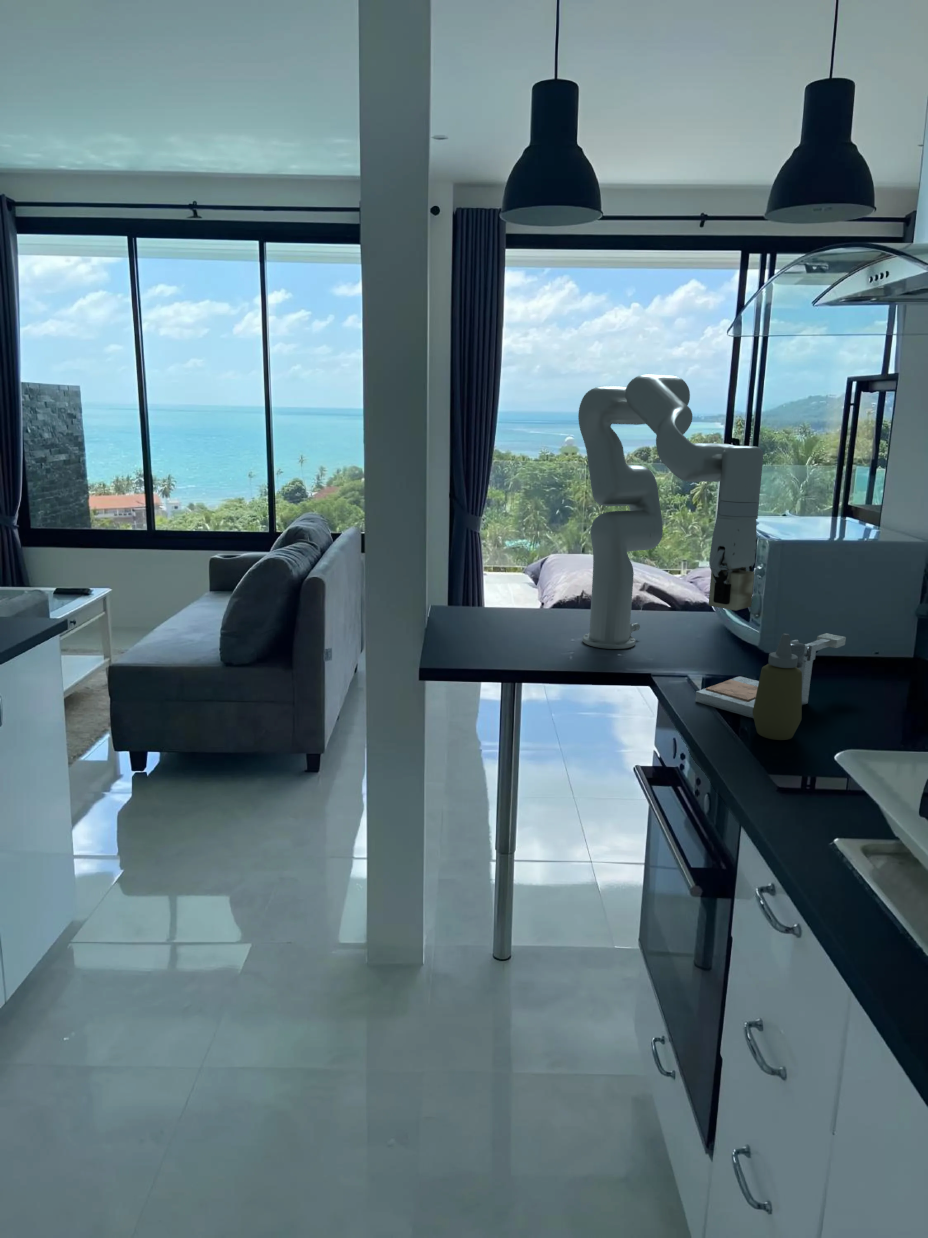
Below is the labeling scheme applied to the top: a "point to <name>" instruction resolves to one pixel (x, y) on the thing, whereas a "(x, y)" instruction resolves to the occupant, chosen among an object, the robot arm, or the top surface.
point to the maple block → (736, 590)
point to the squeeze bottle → (779, 694)
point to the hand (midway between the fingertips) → (730, 600)
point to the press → (749, 690)
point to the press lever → (821, 642)
